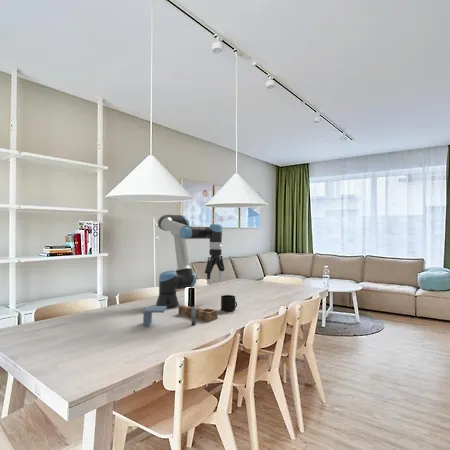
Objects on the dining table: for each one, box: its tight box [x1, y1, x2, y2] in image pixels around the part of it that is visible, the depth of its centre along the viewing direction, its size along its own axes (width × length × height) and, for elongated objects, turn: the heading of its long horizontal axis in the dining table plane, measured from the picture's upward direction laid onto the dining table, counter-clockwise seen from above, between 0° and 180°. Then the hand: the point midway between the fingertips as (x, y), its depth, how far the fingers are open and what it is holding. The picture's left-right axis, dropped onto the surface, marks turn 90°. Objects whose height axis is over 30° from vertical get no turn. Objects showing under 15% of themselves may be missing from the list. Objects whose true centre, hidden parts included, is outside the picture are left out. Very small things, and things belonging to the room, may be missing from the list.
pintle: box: [191, 305, 197, 326], centre depth 184 cm, size 2×2×10 cm
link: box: [177, 304, 219, 323], centre depth 200 cm, size 25×8×5 cm, turn 58°
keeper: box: [142, 305, 168, 328], centre depth 184 cm, size 11×11×9 cm
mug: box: [220, 294, 238, 313], centre depth 217 cm, size 9×12×9 cm
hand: (214, 282), depth 207 cm, fingers open, 13 cm apart
